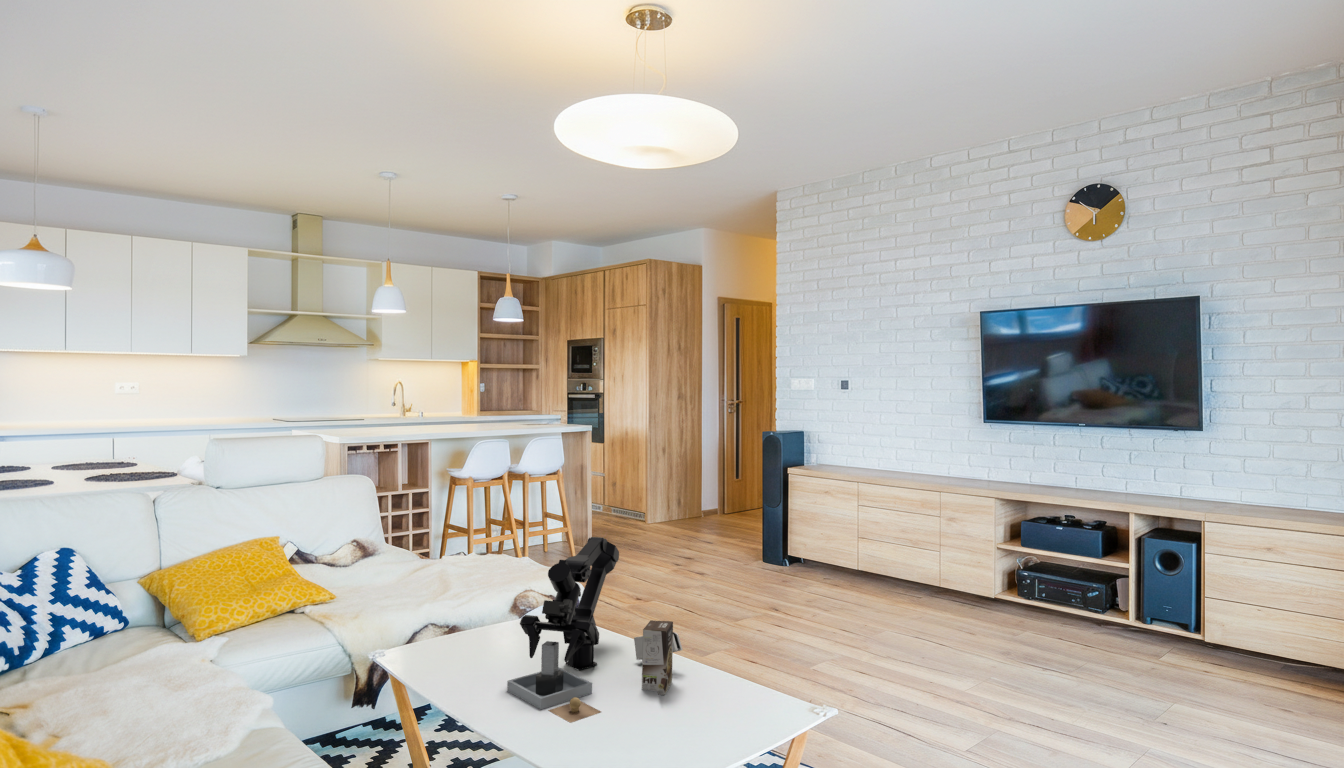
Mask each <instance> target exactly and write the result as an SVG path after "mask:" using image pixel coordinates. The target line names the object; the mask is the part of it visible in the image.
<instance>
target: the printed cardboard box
mask: <svg viewBox="0 0 1344 768" xmlns="http://www.w3.org/2000/svg"><path fill="white" fill-rule="evenodd" d="M633 643H634V647H635V649H634V650H635V659H636V660H637V661H639V660H642V655H643V635H640V636H635V637H633ZM683 650H684V649H683V646H682V643H681V638H680V636H679V634H678V632H675V631H673V653H677V652H680V651H683Z"/></svg>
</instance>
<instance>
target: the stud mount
mask: <svg viewBox="0 0 1344 768" xmlns="http://www.w3.org/2000/svg"><path fill="white" fill-rule="evenodd" d="M547 711H548V712H550V713H552V714H554V715H555V716H558V717H559V718H561V719H562V720H565V721H567V723H568V722H569V723H571V724H573V723H575V722H577V721H580V720H583V719H585V718H589V717H591V716H594V715H598V714H600V713H602V711H601V710H599V709H597V708H595V707H593V706H591V705H589V704H587V703H585V702H583V701H581V699H580V697H579V698H576V697H574V698H572V699H571V700H570V701H569V703H566V704H563V705H560V706H557V707H555V708H551V709H548V710H547Z"/></svg>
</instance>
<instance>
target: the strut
mask: <svg viewBox="0 0 1344 768" xmlns="http://www.w3.org/2000/svg"><path fill="white" fill-rule="evenodd" d="M559 644H560V642H559V641H549V640H547V641H545V642H544V643H542V644H541V664H540V665H541V670H540V671H539V672H540V673H539V674H538V675H537V676H536V694H538V695H541V696H547V695H550V694H553V693H556V692H560V691H562V690H563V671H560V670H558V667H559V654H560V653H559V652H560V651H559V650H560V645H559Z"/></svg>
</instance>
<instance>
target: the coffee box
mask: <svg viewBox="0 0 1344 768" xmlns="http://www.w3.org/2000/svg"><path fill="white" fill-rule="evenodd" d="M673 632H674V621H669V620H649V622H648V623H647V624H646V625H645V626H644V628H643V629H642V636H643V655H642V663H641V669H642V670H641V690H642V691H643V690H644V691H653V692H657V694H658V695H659V696H666V694H667V692H668V690H669V689H670V687H671V685H672V684H673V653H674V652H673Z"/></svg>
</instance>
